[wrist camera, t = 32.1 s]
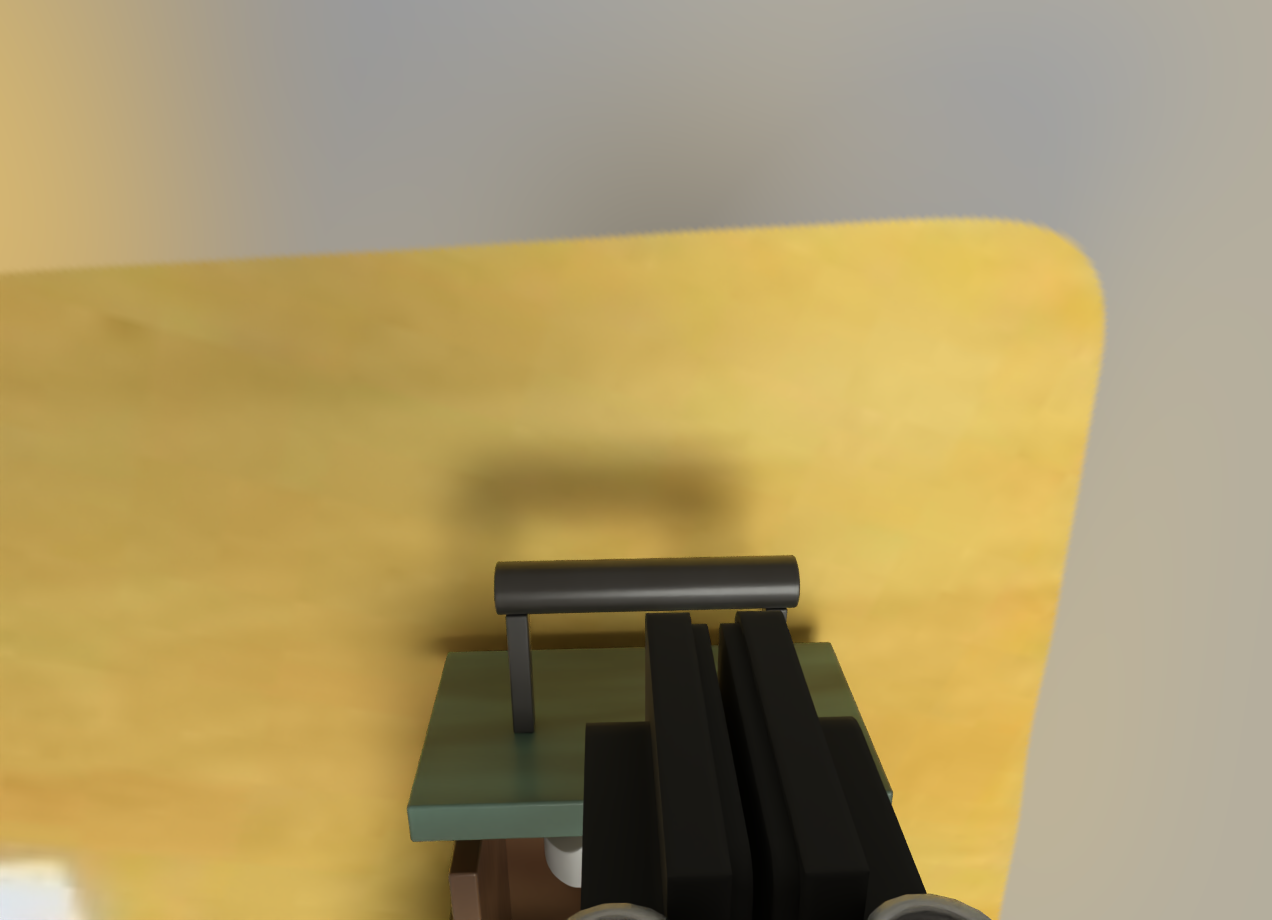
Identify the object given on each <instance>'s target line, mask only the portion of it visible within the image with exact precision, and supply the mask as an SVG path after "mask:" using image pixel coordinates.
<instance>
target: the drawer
mask: <svg viewBox="0 0 1272 920" xmlns="http://www.w3.org/2000/svg"><path fill="white" fill-rule="evenodd" d="M799 596H800V577H799V569H798V564H797V561H796V558H795V557H794V556H793V555H781V556H736V557H691V558H646V559H601V560H556V561H512V562H497V564H496V567H495V575H494V601H495V609H496V613H497V614H498V615H506V617H505V618H506V632H507V646H508V651H469V652H449V653H448V654H447V657H446V661H445V665H444V668H443V672H442V676H441V680H440V684H439V687H438V691H437V695H436V699H435V703H434V706H433V710H432V714H431V718H430V722H429V725H428V729H427V733H426V737H425V741H424V744H423V748H422V752H421V756H420V760H419V763H418V767H417V771H416V775H415V779H414V782H413V786H412V790H411V794H410V798H409V801H408V805H407V814H408V821H409V829H410V836H411V840H412V841H413V842H423V841H454V840H455V841H454V846H453V851H452V857H451V862H450V867H449V873H448V878H449V887H450V896H451V905H452V914H453V920H567V919H568V918H570V917H571V916H573V915H574V914H576V913H578V912H579V911H580V907H581V887H572V886H569V885H567V884H565V883H563V882H562V881H561V880H559V879H558V878H557V877H556V876H555V875H554V874H553V873H552V871H551V870H550V868H549V866H548V864H547V861H546V857H545V850H544V837H575V836H582V834H583V798H584V762H585V729H586V723H598V722H638V721H645V647H625V648H586V649H547V650H532V649H531V631H530V614H550V613H591V612H632V611H674V610H715V609H756V608H762V611H778V610H780V611H782V613H783V615H784V617H785V620H786V622H787V608H794V607H796V606H797V605H798V602H799ZM793 644H794V647H795V650H796V653H797V656H798V659H799V662H800V665H801V668H802V671H803V674H804V677H805V680H806V683H807V686H808V689H809V692H810V694H811V697H812V700H813V703H814V706H815V709H816V712H817V715H818V717H842V716H852V717H854V718H855V719H856V720H857V722H858V723H859V725H860V727H861V729H862V732H863V734H864V737H865V739H866V742H867V744H868V747H869V749H870V752H871V754H872V757H873V759H874V762H875V765H876V767H877V770H878V772H879V775H880V777H881V780H882V782H883V785H884V787H885V790H886V792H887V795H888V797H889V800H890V802H891V804H892V797H893V791H892V789H891V786H890V784H889V782H888V779H887V777H886V774H885V772H884V770H883V767H882V765H881V762H880V760H879V758H878V755H877V753H876V750H875V748H874V746H873V743H872V741H871V738H870V736H869V734H868V731H867V729H866V727H865V724H864V722H863V719H862V717H861V715H860V712H859V710H858V707H857V705H856V703H855V700H854V698H853V695H852V693H851V691H850V688H849V686H848V683H847V681H846V679H845V676H844V674H843V671H842V669H841V667H840V664H839V662H838V659H837V657H836V655H835V652H834V650H833V647H832V645H831V643H829V642H819V643H793ZM711 646H712V651H713V657H714V662H715V667H716V672H717V671H718V645H711Z"/></svg>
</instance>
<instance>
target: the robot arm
mask: <svg viewBox="0 0 1272 920" xmlns="http://www.w3.org/2000/svg"><path fill="white" fill-rule="evenodd" d="M567 920H991V919H990V918H989V917H987V916H986V915H985V914H983V913H982V912H981V911H979V910H977V909H975V908H973V907H970V906H968V905H966V904H964V903H962V902H960V901H958V900H956V899H951V898H947V897H942V896H938V895H934V894H927V893H926V890H925V888H924V885H923V883H922V880H921V878H920V875H919V873H918V870H917V868H916V865H915V863H914V860H913V858H912V855H911V853H910V850H909V848H908V845H907V843H906V840H905V838H904V835H903V832H902V830H901V827H900V825H899V822H898V820H897V817H896V815H895V812H894V810H893V807H892V805H891V802H890V800H889V797H888V795H887V792H886V790H885V787H884V785H883V782H882V780H881V777H880V775H879V772H878V770H877V767H876V765H875V762H874V759H873V757H872V754H871V752H870V749H869V747H868V744H867V742H866V739H865V737H864V734H863V732H862V729H861V727H860V725H859V723H858V722H857V720H856V719H855V718H854V717H852V716H842V717H818V715H817V712H816V709H815V706H814V703H813V700H812V697H811V694H810V692H809V689H808V686H807V683H806V680H805V677H804V674H803V671H802V668H801V665H800V662H799V659H798V656H797V653H796V650H795V647H794V644H793V641H792V638H791V635H790V632H789V629H788V626H787V623H786V620H785V617H784V615H783V613H782V611H780V610H778V611H737V613H736V616H735V623H721V624H720V628H719V645H718V671H717V672H716V667H715V662H714V657H713V651H712V646H711V641H710V636H709V630H708V626H707V624H692V623H691V617H690V613H689V612H683V613H646V616H645V721H638V722H598V723H586V729H585V762H584V798H583V834H582V871H581V907H580V911H579V912H578V913H576V914H574V915H573V916H571V917H570V918H568V919H567Z"/></svg>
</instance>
